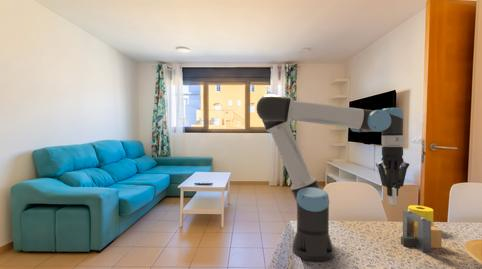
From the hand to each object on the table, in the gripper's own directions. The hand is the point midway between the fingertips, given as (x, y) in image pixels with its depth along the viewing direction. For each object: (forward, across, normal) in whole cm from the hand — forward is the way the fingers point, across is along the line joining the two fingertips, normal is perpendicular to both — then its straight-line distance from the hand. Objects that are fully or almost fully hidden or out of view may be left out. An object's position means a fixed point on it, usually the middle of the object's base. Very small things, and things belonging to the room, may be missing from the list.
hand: (392, 203), depth 103 cm
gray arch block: (+17, +9, -1) cm, 19 cm away
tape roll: (+17, +26, +18) cm, 35 cm away
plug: (+17, +11, -1) cm, 20 cm away
